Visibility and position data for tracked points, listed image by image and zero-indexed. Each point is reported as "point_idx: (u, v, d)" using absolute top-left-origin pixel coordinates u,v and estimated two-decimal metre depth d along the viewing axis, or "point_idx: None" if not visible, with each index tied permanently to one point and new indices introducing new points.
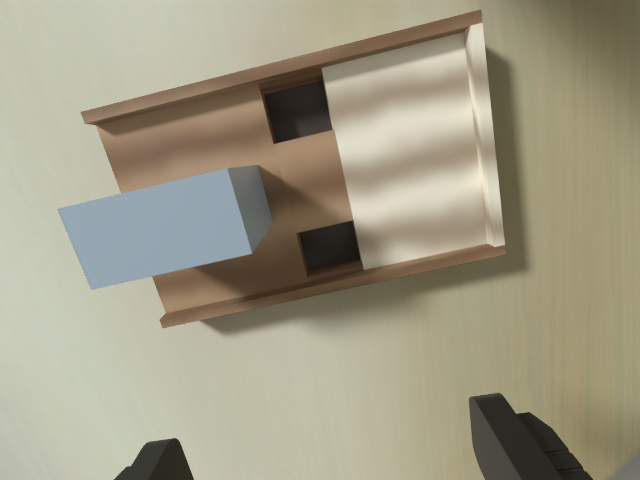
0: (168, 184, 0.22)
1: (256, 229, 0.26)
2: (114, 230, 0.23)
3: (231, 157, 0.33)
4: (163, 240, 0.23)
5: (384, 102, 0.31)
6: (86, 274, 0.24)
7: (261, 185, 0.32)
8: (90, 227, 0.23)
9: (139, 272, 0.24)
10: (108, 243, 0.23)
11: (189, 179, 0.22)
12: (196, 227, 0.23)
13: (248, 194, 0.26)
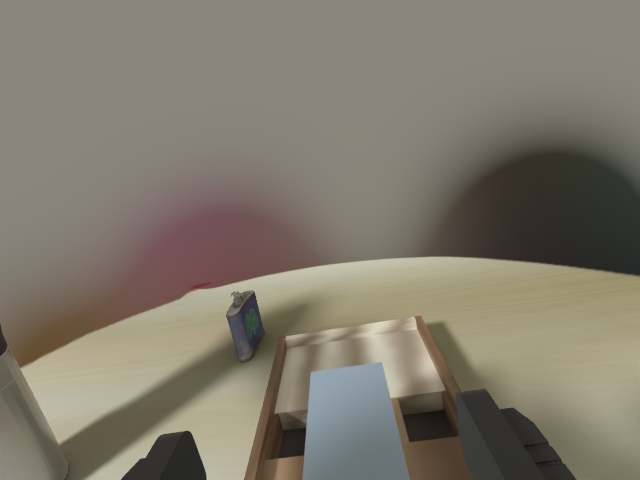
0: (309, 408, 0.24)
1: None
2: (341, 465, 0.20)
3: None
4: (360, 420, 0.22)
5: None
6: None
7: None
8: None
9: (395, 449, 0.20)
10: (354, 475, 0.19)
11: (310, 394, 0.26)
12: (352, 394, 0.25)
13: None
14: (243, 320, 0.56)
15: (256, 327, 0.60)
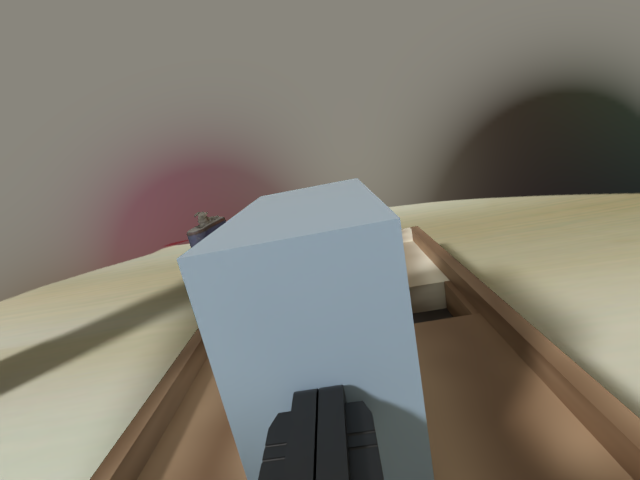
0: (247, 206, 0.17)
1: None
2: (276, 218, 0.12)
3: None
4: (317, 198, 0.15)
5: None
6: (357, 231, 0.09)
7: None
8: (251, 232, 0.11)
9: (365, 199, 0.12)
10: (294, 219, 0.11)
11: (253, 203, 0.18)
12: (311, 193, 0.17)
13: None
14: None
15: None
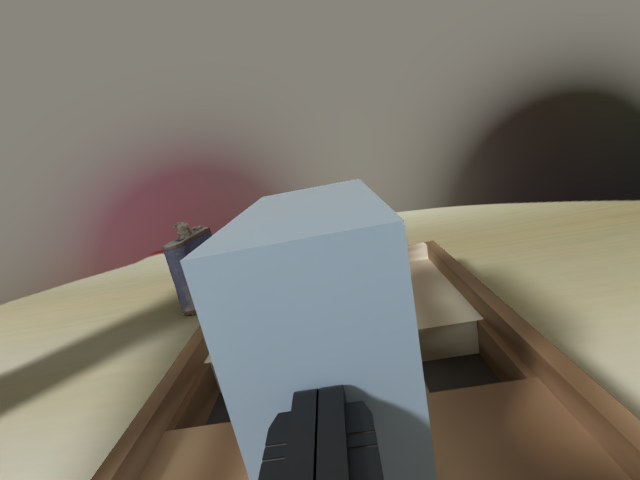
0: (249, 207, 0.17)
1: None
2: (279, 220, 0.12)
3: None
4: (319, 200, 0.15)
5: None
6: (360, 233, 0.09)
7: None
8: (255, 233, 0.10)
9: (368, 200, 0.12)
10: (297, 220, 0.11)
11: (255, 204, 0.18)
12: (313, 193, 0.17)
13: None
14: None
15: None
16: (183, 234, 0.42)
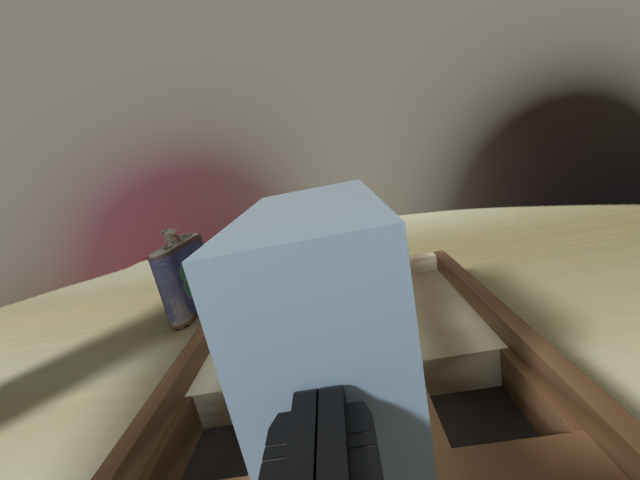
0: (250, 208, 0.17)
1: None
2: (280, 221, 0.12)
3: None
4: (320, 201, 0.15)
5: None
6: (361, 235, 0.09)
7: None
8: (256, 234, 0.11)
9: (369, 201, 0.12)
10: (298, 222, 0.11)
11: (256, 204, 0.18)
12: (314, 194, 0.17)
13: None
14: (177, 268, 0.37)
15: None
16: (171, 242, 0.39)
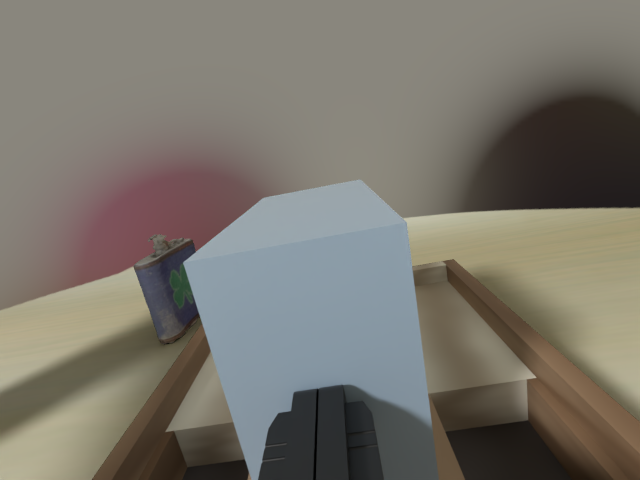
0: (251, 208, 0.17)
1: None
2: (281, 221, 0.12)
3: None
4: (321, 201, 0.15)
5: None
6: (363, 236, 0.09)
7: None
8: (257, 234, 0.11)
9: (370, 202, 0.12)
10: (299, 222, 0.11)
11: (257, 204, 0.18)
12: (315, 194, 0.17)
13: None
14: (166, 277, 0.35)
15: None
16: (160, 249, 0.36)
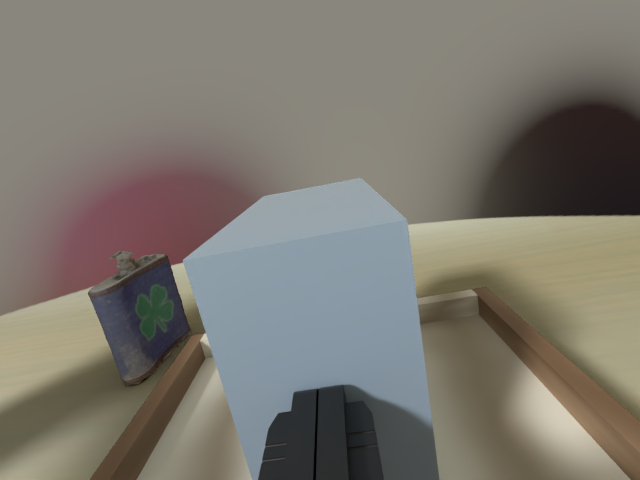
0: (251, 207, 0.17)
1: None
2: (281, 219, 0.12)
3: None
4: (321, 199, 0.15)
5: (232, 441, 0.17)
6: (364, 233, 0.09)
7: None
8: (257, 232, 0.10)
9: (371, 199, 0.12)
10: (299, 219, 0.11)
11: (257, 203, 0.18)
12: (315, 193, 0.17)
13: None
14: (130, 304, 0.28)
15: (169, 319, 0.33)
16: (125, 268, 0.30)
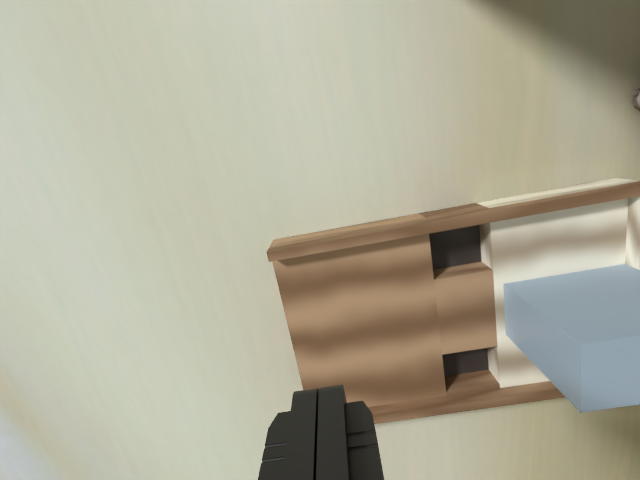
0: None
1: None
2: (626, 364, 0.24)
3: (392, 289, 0.35)
4: None
5: (543, 249, 0.33)
6: (579, 398, 0.25)
7: None
8: (606, 361, 0.24)
9: (633, 400, 0.25)
10: (616, 374, 0.25)
11: None
12: None
13: None
14: None
15: None
16: None
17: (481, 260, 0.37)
